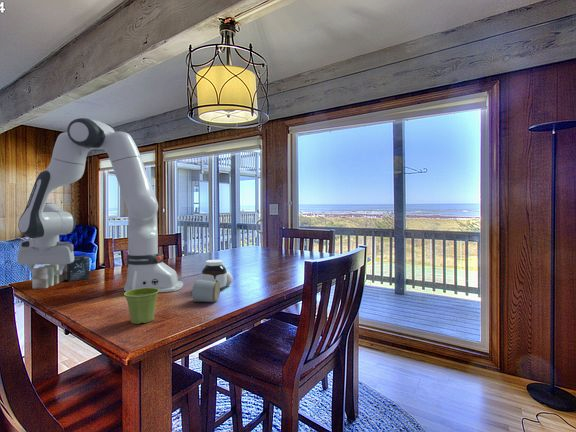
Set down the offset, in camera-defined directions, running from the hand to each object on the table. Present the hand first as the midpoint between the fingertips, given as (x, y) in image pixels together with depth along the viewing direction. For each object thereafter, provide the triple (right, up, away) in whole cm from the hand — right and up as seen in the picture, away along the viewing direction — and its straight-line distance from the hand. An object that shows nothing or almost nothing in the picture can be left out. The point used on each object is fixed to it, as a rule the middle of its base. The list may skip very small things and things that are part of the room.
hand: (47, 274), depth 132 cm
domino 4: (-1, -4, +7) cm, 9 cm away
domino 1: (0, -5, -4) cm, 6 cm away
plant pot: (+58, -6, -39) cm, 71 cm away
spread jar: (+72, -5, -2) cm, 72 cm away
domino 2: (0, -5, 0) cm, 5 cm away
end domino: (-2, -4, +11) cm, 12 cm away
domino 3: (-1, -4, +4) cm, 6 cm away
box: (+6, -5, +11) cm, 13 cm away
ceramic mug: (+72, -6, -19) cm, 75 cm away
